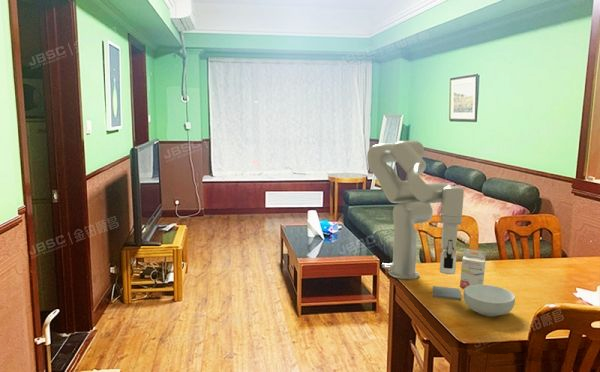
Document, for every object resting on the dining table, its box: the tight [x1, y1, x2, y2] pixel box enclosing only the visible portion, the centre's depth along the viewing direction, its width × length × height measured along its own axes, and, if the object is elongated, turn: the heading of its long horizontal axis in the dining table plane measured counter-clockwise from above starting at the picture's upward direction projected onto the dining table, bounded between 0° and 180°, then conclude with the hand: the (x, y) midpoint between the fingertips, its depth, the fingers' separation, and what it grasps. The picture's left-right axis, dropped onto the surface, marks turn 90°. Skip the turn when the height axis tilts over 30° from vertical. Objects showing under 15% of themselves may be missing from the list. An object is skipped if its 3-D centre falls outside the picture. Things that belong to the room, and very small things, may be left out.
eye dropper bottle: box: [439, 248, 457, 275], centre depth 177 cm, size 4×6×12 cm
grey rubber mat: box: [432, 285, 462, 301], centre depth 179 cm, size 10×10×1 cm
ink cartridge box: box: [459, 248, 486, 289], centre depth 186 cm, size 9×5×15 cm, turn 65°
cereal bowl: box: [463, 284, 516, 317], centre depth 163 cm, size 17×17×7 cm
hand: (447, 265), depth 178 cm, fingers closed on eye dropper bottle, 3 cm apart
